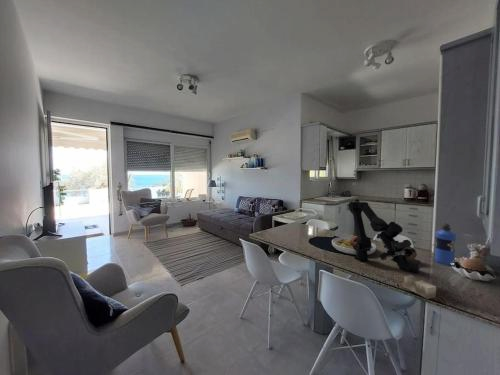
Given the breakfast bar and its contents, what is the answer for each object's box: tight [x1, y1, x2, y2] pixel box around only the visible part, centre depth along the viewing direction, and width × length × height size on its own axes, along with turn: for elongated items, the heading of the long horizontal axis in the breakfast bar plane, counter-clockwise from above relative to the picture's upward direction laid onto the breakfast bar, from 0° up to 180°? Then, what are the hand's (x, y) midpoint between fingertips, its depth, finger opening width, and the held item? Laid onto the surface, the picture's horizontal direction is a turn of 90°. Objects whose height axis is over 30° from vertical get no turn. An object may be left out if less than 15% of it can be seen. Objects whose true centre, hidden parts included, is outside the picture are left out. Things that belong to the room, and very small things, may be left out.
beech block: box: [401, 274, 437, 300], centre depth 99 cm, size 5×5×12 cm
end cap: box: [396, 258, 422, 274], centre depth 121 cm, size 10×7×7 cm
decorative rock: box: [399, 246, 418, 260], centre depth 134 cm, size 13×11×10 cm
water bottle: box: [434, 222, 457, 266], centre depth 130 cm, size 9×9×25 cm
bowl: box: [331, 235, 377, 256], centre depth 156 cm, size 30×30×8 cm
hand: (408, 269), depth 103 cm, fingers closed
